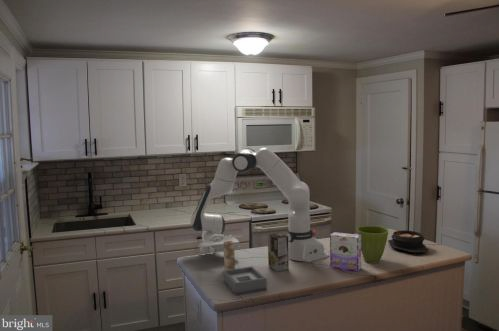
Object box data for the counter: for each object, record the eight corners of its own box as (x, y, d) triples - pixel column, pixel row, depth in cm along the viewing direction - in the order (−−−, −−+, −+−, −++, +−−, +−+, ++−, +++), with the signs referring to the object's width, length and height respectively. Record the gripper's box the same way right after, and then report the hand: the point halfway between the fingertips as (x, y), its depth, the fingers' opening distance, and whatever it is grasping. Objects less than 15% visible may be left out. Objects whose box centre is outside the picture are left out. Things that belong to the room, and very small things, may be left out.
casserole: (379, 244, 234) (379, 229, 233) (408, 241, 239) (408, 226, 238) (406, 257, 210) (407, 241, 209) (437, 253, 215) (438, 238, 214)
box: (252, 276, 188) (252, 266, 188) (266, 289, 173) (266, 278, 173) (223, 281, 183) (223, 270, 183) (235, 295, 168) (235, 283, 168)
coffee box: (289, 269, 197) (288, 236, 196) (278, 271, 194) (277, 238, 192) (278, 263, 205) (278, 232, 203) (267, 266, 202) (267, 234, 200)
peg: (232, 268, 199) (231, 240, 198) (234, 271, 196) (234, 242, 194) (224, 269, 198) (223, 241, 196) (226, 272, 194) (226, 243, 193)
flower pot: (374, 254, 216) (374, 224, 215) (394, 262, 203) (395, 231, 201) (351, 258, 210) (351, 227, 209) (370, 267, 197) (370, 234, 195)
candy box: (361, 268, 196) (361, 234, 195) (358, 272, 191) (358, 237, 189) (333, 263, 203) (333, 231, 202) (329, 267, 198) (329, 234, 196)
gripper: (196, 239, 212) (203, 246, 200) (233, 234, 220) (242, 241, 207) (196, 251, 213) (203, 258, 200) (234, 245, 220) (243, 253, 208)
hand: (224, 249), depth 204 cm, fingers open, 8 cm apart
